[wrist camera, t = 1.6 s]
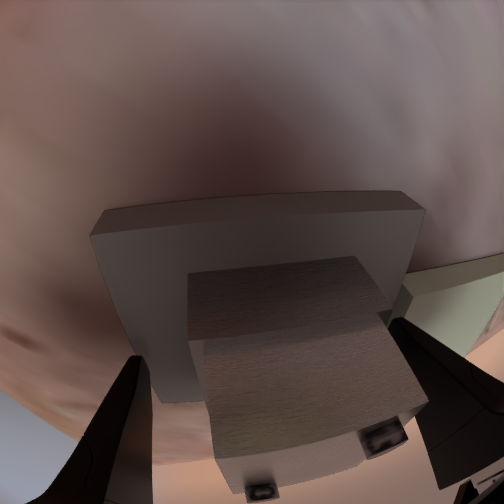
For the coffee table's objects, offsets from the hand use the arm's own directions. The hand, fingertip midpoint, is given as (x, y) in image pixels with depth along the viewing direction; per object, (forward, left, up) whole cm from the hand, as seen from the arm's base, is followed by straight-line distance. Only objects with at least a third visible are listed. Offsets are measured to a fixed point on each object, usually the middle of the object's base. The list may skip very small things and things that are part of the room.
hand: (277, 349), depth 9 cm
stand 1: (0, 0, -2) cm, 2 cm away
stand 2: (-11, +4, -2) cm, 12 cm away
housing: (0, 0, -1) cm, 1 cm away
